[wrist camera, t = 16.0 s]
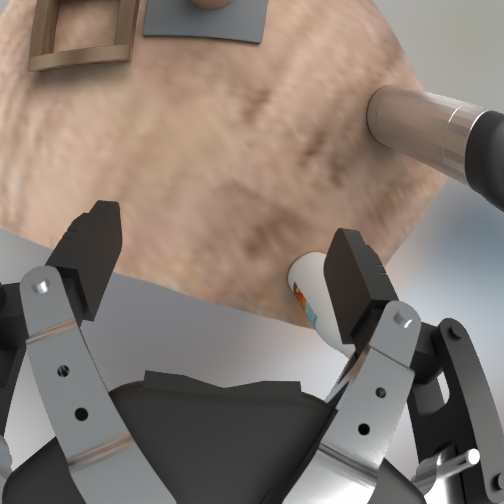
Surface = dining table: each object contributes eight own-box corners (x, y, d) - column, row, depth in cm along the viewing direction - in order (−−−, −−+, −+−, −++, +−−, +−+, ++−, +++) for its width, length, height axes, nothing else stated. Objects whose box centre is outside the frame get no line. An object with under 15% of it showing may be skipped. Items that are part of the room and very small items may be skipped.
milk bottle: (288, 253, 45) (356, 356, 29) (334, 247, 47) (410, 337, 31) (284, 294, 49) (339, 394, 33) (326, 286, 51) (389, 375, 35)
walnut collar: (144, -26, 20) (143, -36, 18) (131, 60, 26) (127, 58, 23) (52, -14, 17) (42, -22, 14) (40, 71, 23) (28, 71, 20)
